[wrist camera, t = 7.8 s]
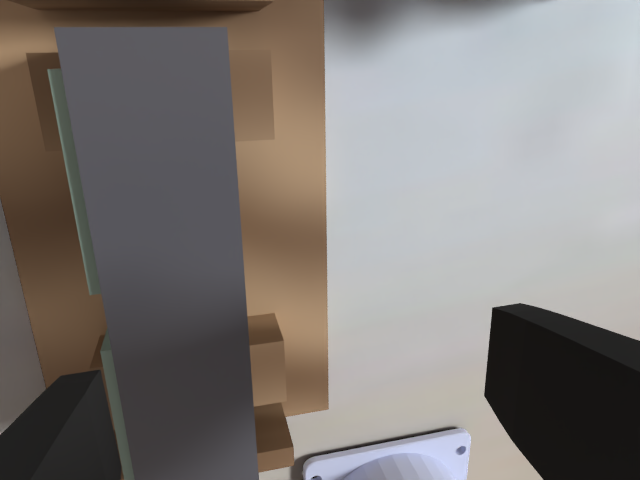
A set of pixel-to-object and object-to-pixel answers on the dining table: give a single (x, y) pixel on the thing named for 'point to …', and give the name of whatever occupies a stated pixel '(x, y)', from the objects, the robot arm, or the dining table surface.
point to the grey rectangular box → (162, 242)
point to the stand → (253, 183)
